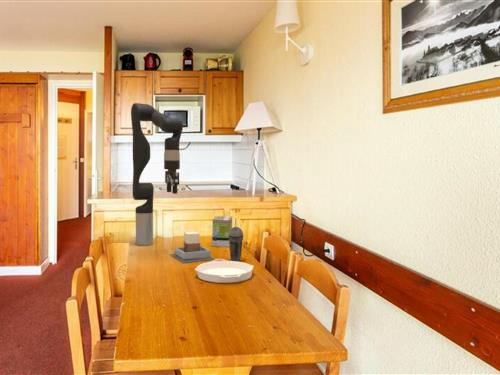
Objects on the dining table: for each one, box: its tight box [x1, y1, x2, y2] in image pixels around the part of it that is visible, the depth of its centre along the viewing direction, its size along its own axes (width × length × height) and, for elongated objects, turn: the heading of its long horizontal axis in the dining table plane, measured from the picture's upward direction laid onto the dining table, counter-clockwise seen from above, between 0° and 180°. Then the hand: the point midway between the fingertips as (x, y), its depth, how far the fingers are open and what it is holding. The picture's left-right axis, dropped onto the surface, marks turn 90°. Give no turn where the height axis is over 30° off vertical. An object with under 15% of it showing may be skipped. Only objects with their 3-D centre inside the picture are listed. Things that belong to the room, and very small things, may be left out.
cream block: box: [183, 231, 200, 244], centre depth 210 cm, size 6×6×4 cm
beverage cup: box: [228, 217, 245, 262], centre depth 205 cm, size 7×7×20 cm
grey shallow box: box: [169, 245, 216, 264], centre depth 210 cm, size 18×16×4 cm
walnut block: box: [183, 241, 201, 253], centre depth 210 cm, size 6×6×6 cm
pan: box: [194, 258, 255, 284], centre depth 180 cm, size 24×27×4 cm
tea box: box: [211, 215, 233, 248], centre depth 241 cm, size 15×10×15 cm
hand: (171, 192), depth 216 cm, fingers open, 8 cm apart
